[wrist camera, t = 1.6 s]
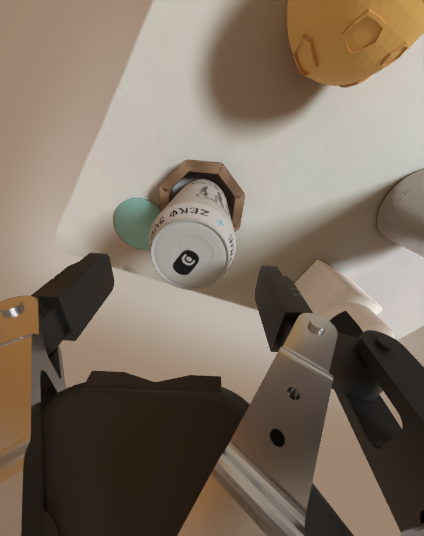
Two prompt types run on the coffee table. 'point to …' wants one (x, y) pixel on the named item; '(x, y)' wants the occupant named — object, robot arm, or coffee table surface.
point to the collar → (204, 167)
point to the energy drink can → (193, 237)
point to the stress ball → (351, 36)
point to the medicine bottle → (340, 301)
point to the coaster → (136, 221)
